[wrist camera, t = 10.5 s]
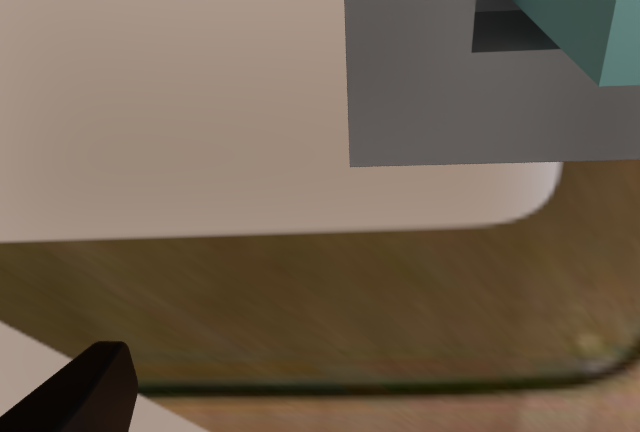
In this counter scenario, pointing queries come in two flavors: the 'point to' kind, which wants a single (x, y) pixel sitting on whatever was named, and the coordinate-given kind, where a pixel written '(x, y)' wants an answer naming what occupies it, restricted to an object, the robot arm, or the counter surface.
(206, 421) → the counter surface
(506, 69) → the well block
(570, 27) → the teal block
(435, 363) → the counter surface
